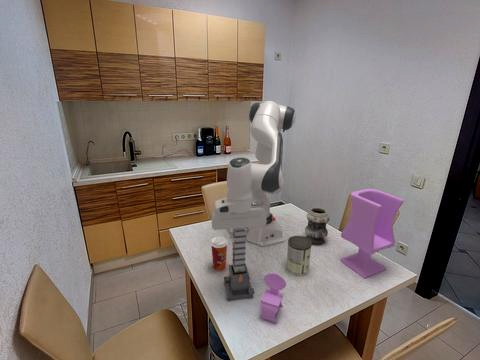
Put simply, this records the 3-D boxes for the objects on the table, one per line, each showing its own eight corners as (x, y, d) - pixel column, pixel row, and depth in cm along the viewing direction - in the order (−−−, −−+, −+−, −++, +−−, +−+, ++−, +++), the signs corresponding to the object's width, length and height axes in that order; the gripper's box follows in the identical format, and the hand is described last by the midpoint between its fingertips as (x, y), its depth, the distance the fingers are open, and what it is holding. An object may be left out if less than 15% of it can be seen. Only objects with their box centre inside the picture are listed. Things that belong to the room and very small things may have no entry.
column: (243, 265, 103) (243, 225, 97) (245, 272, 99) (245, 231, 93) (232, 266, 102) (232, 226, 96) (234, 273, 98) (234, 232, 92)
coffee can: (287, 259, 123) (289, 233, 119) (309, 264, 120) (312, 237, 116) (284, 272, 114) (286, 245, 110) (307, 278, 111) (311, 250, 106)
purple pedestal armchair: (364, 280, 110) (379, 206, 99) (337, 260, 123) (347, 192, 112) (388, 270, 116) (405, 199, 105) (360, 252, 129) (372, 187, 118)
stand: (248, 279, 110) (249, 258, 106) (254, 298, 100) (255, 276, 96) (223, 282, 108) (223, 261, 104) (227, 301, 98) (226, 279, 94)
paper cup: (221, 274, 113) (221, 247, 108) (207, 268, 116) (206, 241, 112) (231, 265, 119) (231, 238, 114) (218, 259, 123) (217, 234, 118)
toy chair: (256, 317, 91) (258, 283, 86) (264, 300, 99) (266, 267, 94) (279, 325, 88) (282, 290, 83) (285, 307, 96) (288, 274, 91)
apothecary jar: (322, 234, 146) (326, 205, 140) (329, 246, 134) (334, 215, 129) (301, 234, 145) (304, 205, 140) (307, 246, 134) (310, 215, 128)
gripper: (264, 198, 96) (263, 230, 101) (210, 201, 93) (211, 235, 97) (269, 205, 90) (267, 239, 95) (211, 209, 87) (212, 244, 91)
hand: (238, 237), depth 96 cm, fingers closed on column, 4 cm apart
